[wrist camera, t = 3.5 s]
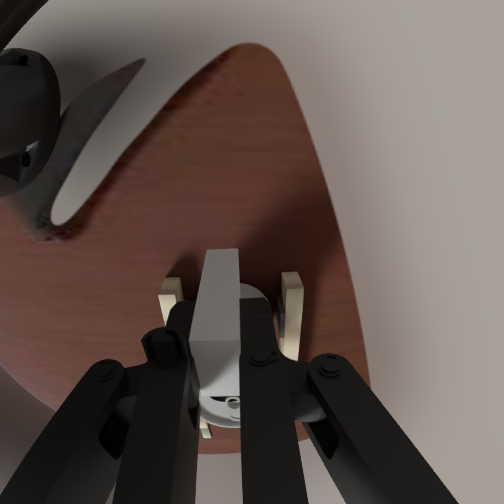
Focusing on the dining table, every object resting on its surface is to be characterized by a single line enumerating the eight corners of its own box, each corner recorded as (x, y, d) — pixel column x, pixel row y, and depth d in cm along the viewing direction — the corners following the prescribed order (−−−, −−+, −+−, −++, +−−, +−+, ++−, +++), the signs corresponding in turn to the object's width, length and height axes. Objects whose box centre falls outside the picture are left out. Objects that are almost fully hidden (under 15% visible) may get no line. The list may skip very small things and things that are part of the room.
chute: (161, 277, 27) (154, 295, 24) (301, 271, 27) (307, 288, 25) (203, 436, 39) (203, 451, 37) (285, 432, 40) (288, 447, 37)
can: (262, 269, 27) (280, 366, 16) (276, 330, 30) (294, 425, 19) (185, 285, 27) (162, 383, 16) (208, 342, 30) (201, 437, 20)
